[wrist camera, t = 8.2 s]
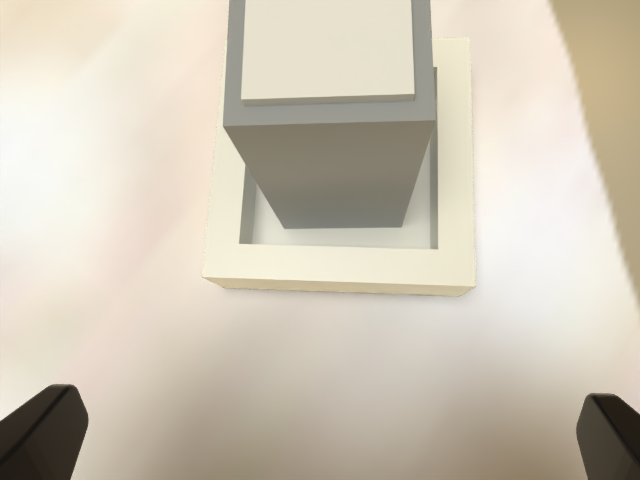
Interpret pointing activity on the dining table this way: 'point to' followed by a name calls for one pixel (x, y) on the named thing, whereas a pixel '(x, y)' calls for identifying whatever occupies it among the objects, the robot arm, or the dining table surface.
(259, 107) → the grey tall block
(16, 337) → the dining table surface
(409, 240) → the tray
